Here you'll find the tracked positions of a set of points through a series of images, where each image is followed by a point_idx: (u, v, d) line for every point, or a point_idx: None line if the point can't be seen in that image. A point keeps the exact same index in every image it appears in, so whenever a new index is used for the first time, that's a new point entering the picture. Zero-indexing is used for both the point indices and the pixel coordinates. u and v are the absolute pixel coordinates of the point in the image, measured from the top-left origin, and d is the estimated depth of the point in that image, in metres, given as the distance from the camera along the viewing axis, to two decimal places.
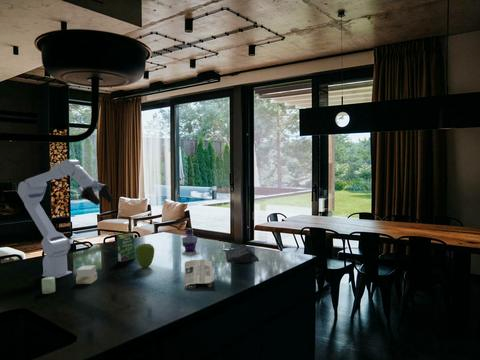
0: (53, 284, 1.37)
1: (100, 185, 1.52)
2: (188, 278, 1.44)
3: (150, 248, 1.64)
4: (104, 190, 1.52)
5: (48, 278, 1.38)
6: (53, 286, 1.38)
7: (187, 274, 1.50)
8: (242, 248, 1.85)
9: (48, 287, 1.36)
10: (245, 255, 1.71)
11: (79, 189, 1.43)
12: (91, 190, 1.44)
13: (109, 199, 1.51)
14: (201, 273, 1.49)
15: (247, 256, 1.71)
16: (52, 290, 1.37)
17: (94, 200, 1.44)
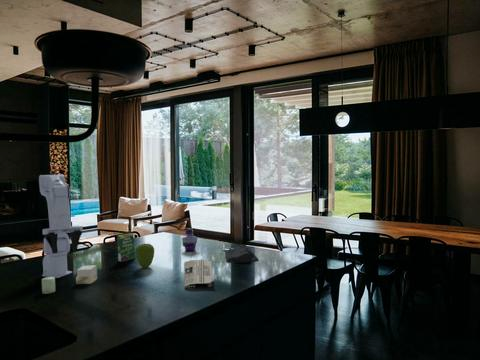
0: (53, 284, 1.37)
1: (74, 228, 1.41)
2: (188, 278, 1.44)
3: (150, 248, 1.64)
4: (74, 235, 1.40)
5: (48, 278, 1.38)
6: (53, 286, 1.38)
7: (187, 274, 1.50)
8: (242, 248, 1.85)
9: (48, 287, 1.36)
10: (244, 255, 1.71)
11: (44, 231, 1.32)
12: (55, 238, 1.33)
13: (73, 247, 1.40)
14: (201, 273, 1.49)
15: (246, 256, 1.71)
16: (52, 290, 1.37)
17: (53, 248, 1.34)
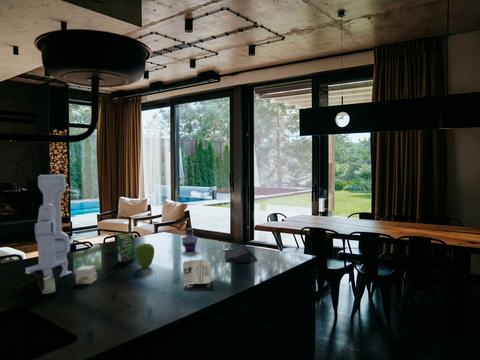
0: (53, 283, 1.37)
1: None
2: (187, 278, 1.44)
3: (150, 248, 1.64)
4: (55, 272, 1.39)
5: (48, 278, 1.38)
6: (53, 286, 1.38)
7: (185, 274, 1.50)
8: (241, 248, 1.85)
9: (48, 287, 1.36)
10: (243, 255, 1.71)
11: (26, 271, 1.32)
12: (41, 277, 1.34)
13: None
14: (200, 273, 1.49)
15: (245, 256, 1.71)
16: (52, 290, 1.37)
17: (39, 284, 1.36)
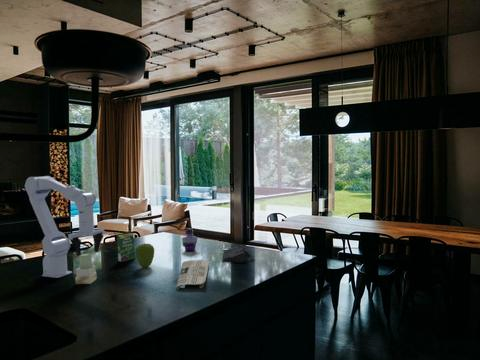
0: (88, 259, 1.48)
1: (96, 232, 1.55)
2: (181, 279, 1.44)
3: (150, 248, 1.64)
4: (96, 239, 1.55)
5: (85, 254, 1.49)
6: (89, 262, 1.48)
7: (181, 274, 1.50)
8: (239, 248, 1.86)
9: (84, 262, 1.47)
10: (240, 255, 1.72)
11: (69, 237, 1.47)
12: (78, 243, 1.48)
13: (95, 249, 1.56)
14: (195, 274, 1.48)
15: (242, 256, 1.71)
16: (88, 266, 1.48)
17: (77, 251, 1.50)
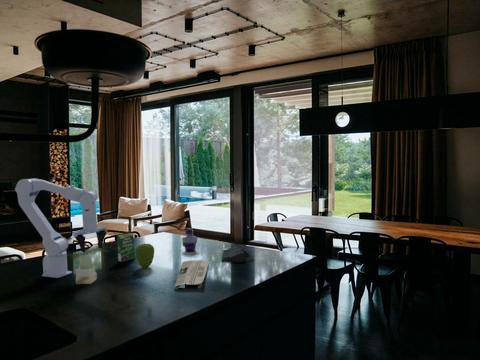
0: (89, 260, 1.48)
1: (99, 229, 1.61)
2: (179, 279, 1.44)
3: (150, 248, 1.64)
4: (100, 235, 1.61)
5: (85, 255, 1.49)
6: (89, 263, 1.48)
7: (180, 275, 1.50)
8: (239, 248, 1.86)
9: (85, 263, 1.47)
10: (239, 255, 1.72)
11: (74, 234, 1.53)
12: (83, 240, 1.54)
13: (99, 245, 1.62)
14: (193, 274, 1.48)
15: (241, 256, 1.72)
16: (88, 266, 1.48)
17: (81, 247, 1.56)
